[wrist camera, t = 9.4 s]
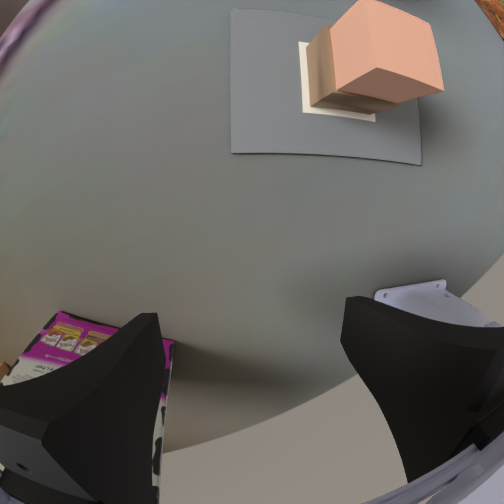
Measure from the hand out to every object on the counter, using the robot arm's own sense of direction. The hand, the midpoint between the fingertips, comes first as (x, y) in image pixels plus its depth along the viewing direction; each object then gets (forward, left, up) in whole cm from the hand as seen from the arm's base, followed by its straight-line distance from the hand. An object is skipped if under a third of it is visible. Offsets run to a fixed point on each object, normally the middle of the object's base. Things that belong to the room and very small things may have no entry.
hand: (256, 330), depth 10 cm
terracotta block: (-8, -13, -6) cm, 16 cm away
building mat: (-8, -13, -10) cm, 18 cm away
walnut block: (-8, -13, -10) cm, 18 cm away
